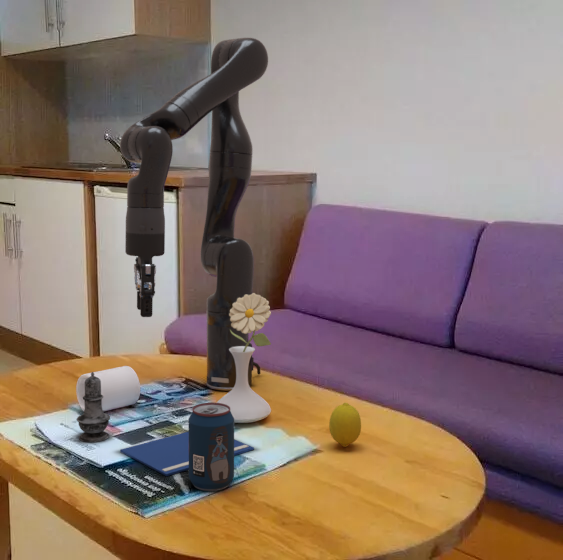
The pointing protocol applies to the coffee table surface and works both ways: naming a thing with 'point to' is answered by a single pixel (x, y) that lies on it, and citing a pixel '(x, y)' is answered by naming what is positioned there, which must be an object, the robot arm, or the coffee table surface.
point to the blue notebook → (170, 453)
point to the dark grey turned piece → (93, 413)
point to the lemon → (345, 424)
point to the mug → (113, 387)
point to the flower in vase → (247, 359)
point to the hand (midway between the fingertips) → (144, 313)
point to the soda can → (211, 446)
